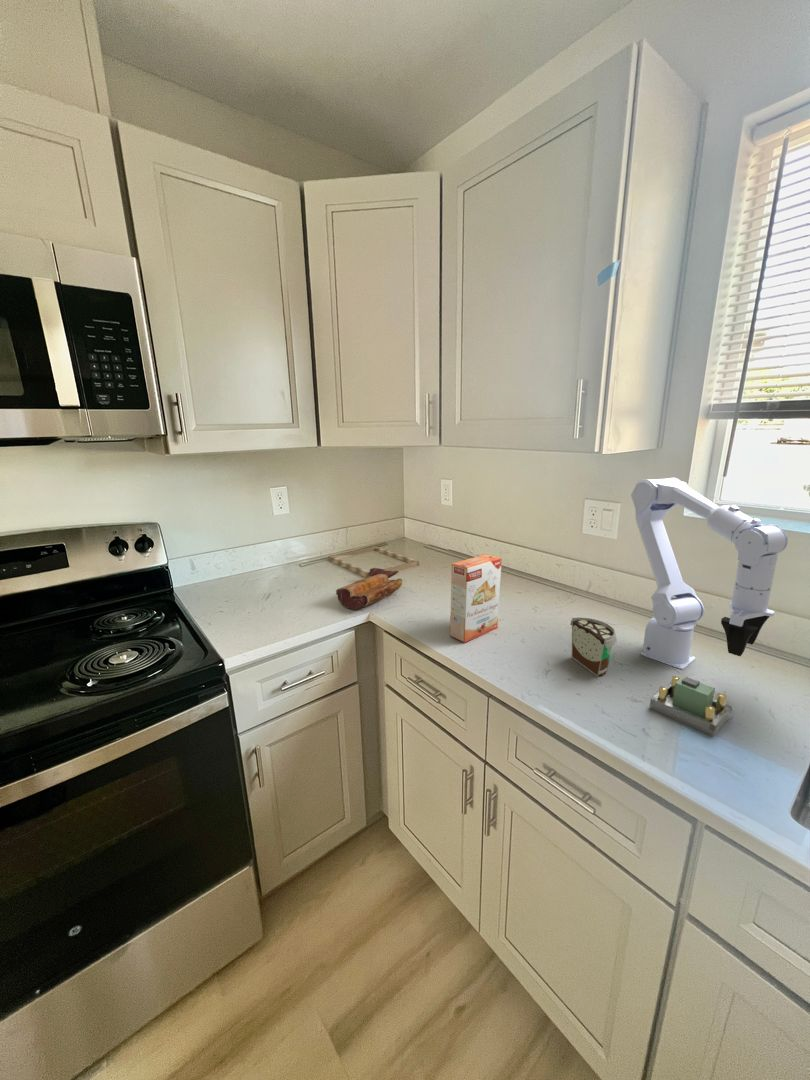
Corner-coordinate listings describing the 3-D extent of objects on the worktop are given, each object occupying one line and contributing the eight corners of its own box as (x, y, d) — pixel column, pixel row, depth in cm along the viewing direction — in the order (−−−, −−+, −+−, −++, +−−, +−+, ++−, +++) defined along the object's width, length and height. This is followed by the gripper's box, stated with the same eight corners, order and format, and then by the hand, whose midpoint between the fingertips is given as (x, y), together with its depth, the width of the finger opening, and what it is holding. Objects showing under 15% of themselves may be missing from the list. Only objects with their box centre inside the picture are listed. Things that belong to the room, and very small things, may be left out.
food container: (625, 676, 99) (630, 635, 97) (602, 680, 98) (607, 639, 95) (588, 650, 111) (592, 613, 108) (567, 654, 109) (570, 617, 107)
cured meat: (376, 564, 162) (377, 582, 163) (326, 583, 142) (327, 603, 144) (416, 573, 151) (416, 592, 153) (367, 595, 132) (368, 616, 133)
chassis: (649, 708, 88) (652, 687, 87) (668, 691, 93) (671, 672, 92) (713, 736, 79) (717, 714, 78) (730, 716, 85) (734, 695, 84)
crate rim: (329, 562, 188) (328, 556, 187) (375, 552, 202) (375, 546, 202) (369, 581, 164) (369, 573, 164) (419, 568, 179) (418, 561, 178)
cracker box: (465, 644, 115) (467, 567, 110) (449, 636, 120) (449, 562, 114) (499, 628, 124) (502, 557, 119) (483, 621, 128) (485, 552, 123)
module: (672, 705, 87) (675, 680, 86) (679, 698, 89) (683, 673, 88) (703, 718, 83) (708, 692, 81) (710, 711, 85) (715, 685, 84)
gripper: (767, 600, 80) (753, 667, 83) (788, 582, 89) (775, 644, 92) (721, 590, 85) (711, 653, 89) (745, 574, 94) (735, 632, 97)
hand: (740, 648), depth 91 cm, fingers open, 7 cm apart
